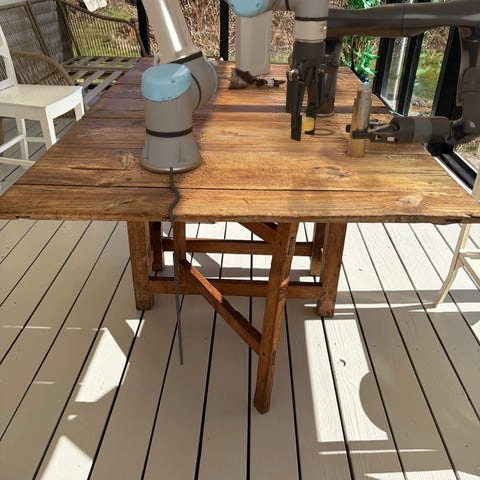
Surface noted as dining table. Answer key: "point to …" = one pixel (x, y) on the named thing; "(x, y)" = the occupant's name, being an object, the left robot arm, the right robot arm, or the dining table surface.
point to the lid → (307, 123)
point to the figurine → (248, 80)
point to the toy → (158, 57)
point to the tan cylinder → (360, 121)
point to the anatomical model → (291, 61)
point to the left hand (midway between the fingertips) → (302, 136)
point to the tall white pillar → (254, 43)
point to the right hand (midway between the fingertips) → (349, 131)
